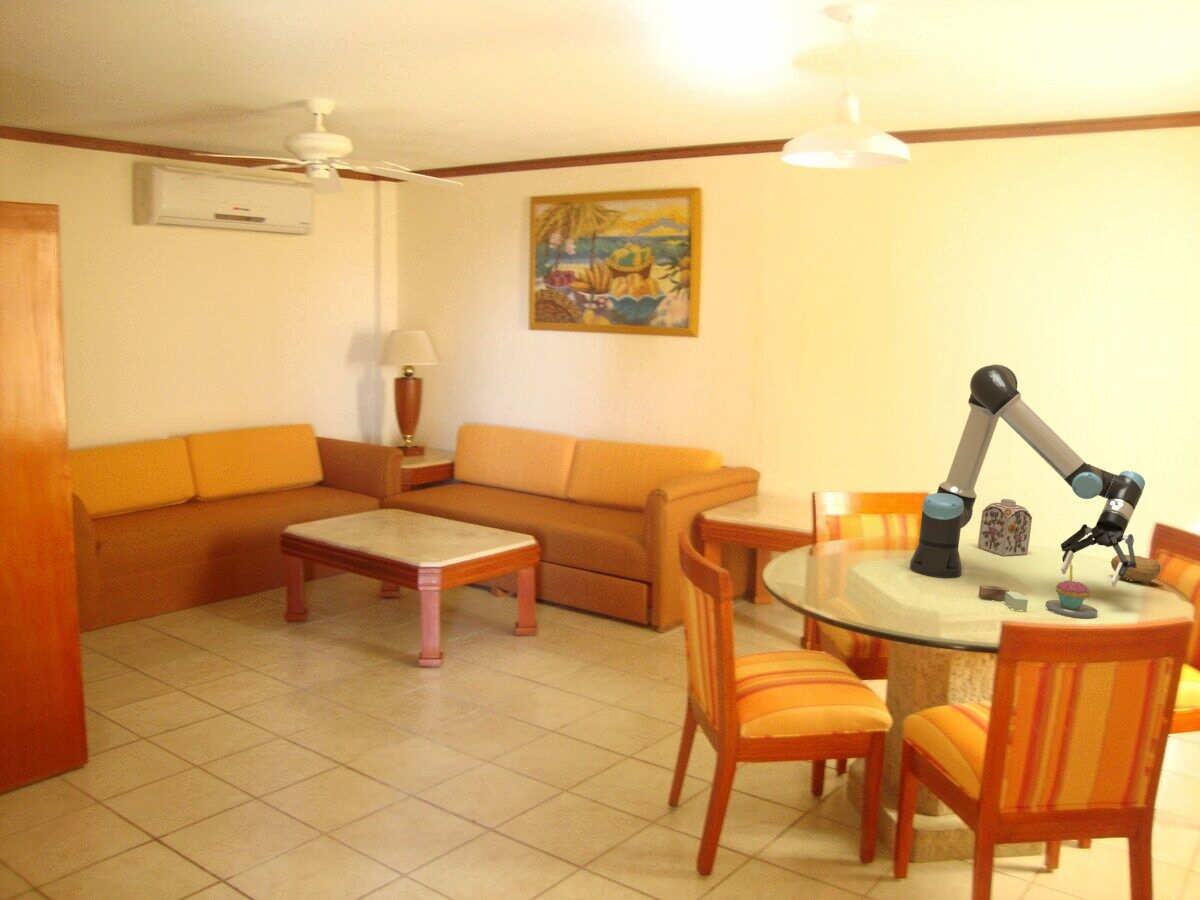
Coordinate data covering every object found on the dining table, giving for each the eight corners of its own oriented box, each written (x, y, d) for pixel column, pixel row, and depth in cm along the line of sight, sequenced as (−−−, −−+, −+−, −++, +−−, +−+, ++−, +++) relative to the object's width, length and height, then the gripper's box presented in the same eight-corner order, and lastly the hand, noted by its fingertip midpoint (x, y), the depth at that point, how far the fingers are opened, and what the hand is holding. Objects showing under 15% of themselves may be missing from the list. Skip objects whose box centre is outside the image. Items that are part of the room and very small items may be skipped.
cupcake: (1046, 602, 282) (1052, 560, 281) (1070, 601, 285) (1076, 559, 284) (1070, 612, 274) (1076, 568, 273) (1095, 610, 277) (1101, 567, 276)
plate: (1044, 612, 277) (1045, 608, 276) (1045, 601, 288) (1046, 597, 288) (1097, 621, 271) (1098, 617, 271) (1096, 609, 283) (1096, 605, 283)
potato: (1114, 573, 327) (1118, 549, 326) (1162, 584, 318) (1166, 559, 316) (1103, 578, 320) (1107, 553, 319) (1152, 589, 311) (1156, 563, 309)
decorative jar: (976, 548, 351) (982, 496, 348) (1001, 546, 356) (1007, 496, 353) (1003, 556, 340) (1010, 504, 338) (1028, 555, 345) (1035, 503, 343)
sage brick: (1004, 603, 284) (1005, 591, 283) (1016, 604, 284) (1018, 592, 283) (1013, 611, 277) (1014, 598, 276) (1026, 612, 277) (1027, 599, 276)
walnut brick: (981, 600, 286) (983, 588, 285) (978, 596, 289) (980, 584, 289) (1007, 602, 285) (1009, 590, 284) (1004, 599, 288) (1005, 587, 288)
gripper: (1068, 501, 301) (1040, 559, 293) (1160, 520, 284) (1133, 581, 276) (1072, 516, 305) (1045, 573, 298) (1163, 536, 288) (1136, 597, 281)
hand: (1087, 577), depth 287 cm, fingers open, 13 cm apart
